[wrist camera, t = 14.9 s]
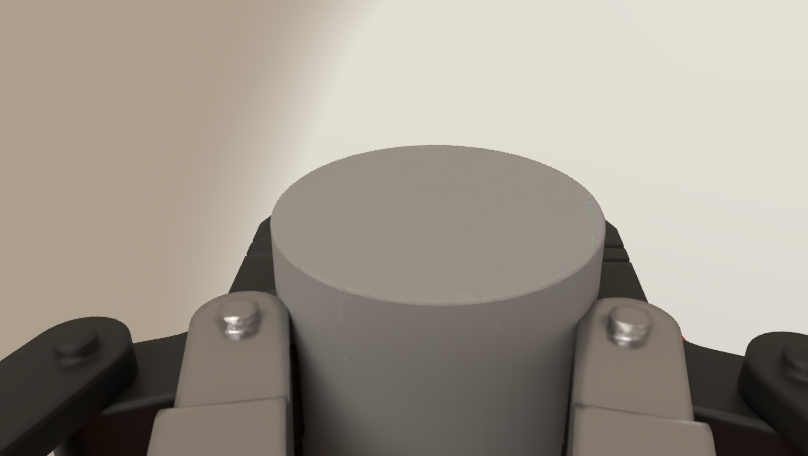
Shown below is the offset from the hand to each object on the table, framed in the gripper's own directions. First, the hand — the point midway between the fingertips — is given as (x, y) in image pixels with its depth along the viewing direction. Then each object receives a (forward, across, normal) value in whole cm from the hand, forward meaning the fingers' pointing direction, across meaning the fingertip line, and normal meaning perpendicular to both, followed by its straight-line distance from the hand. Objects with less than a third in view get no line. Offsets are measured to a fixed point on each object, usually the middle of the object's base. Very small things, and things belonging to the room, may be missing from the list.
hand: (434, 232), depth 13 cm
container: (-3, 0, +13) cm, 14 cm away
